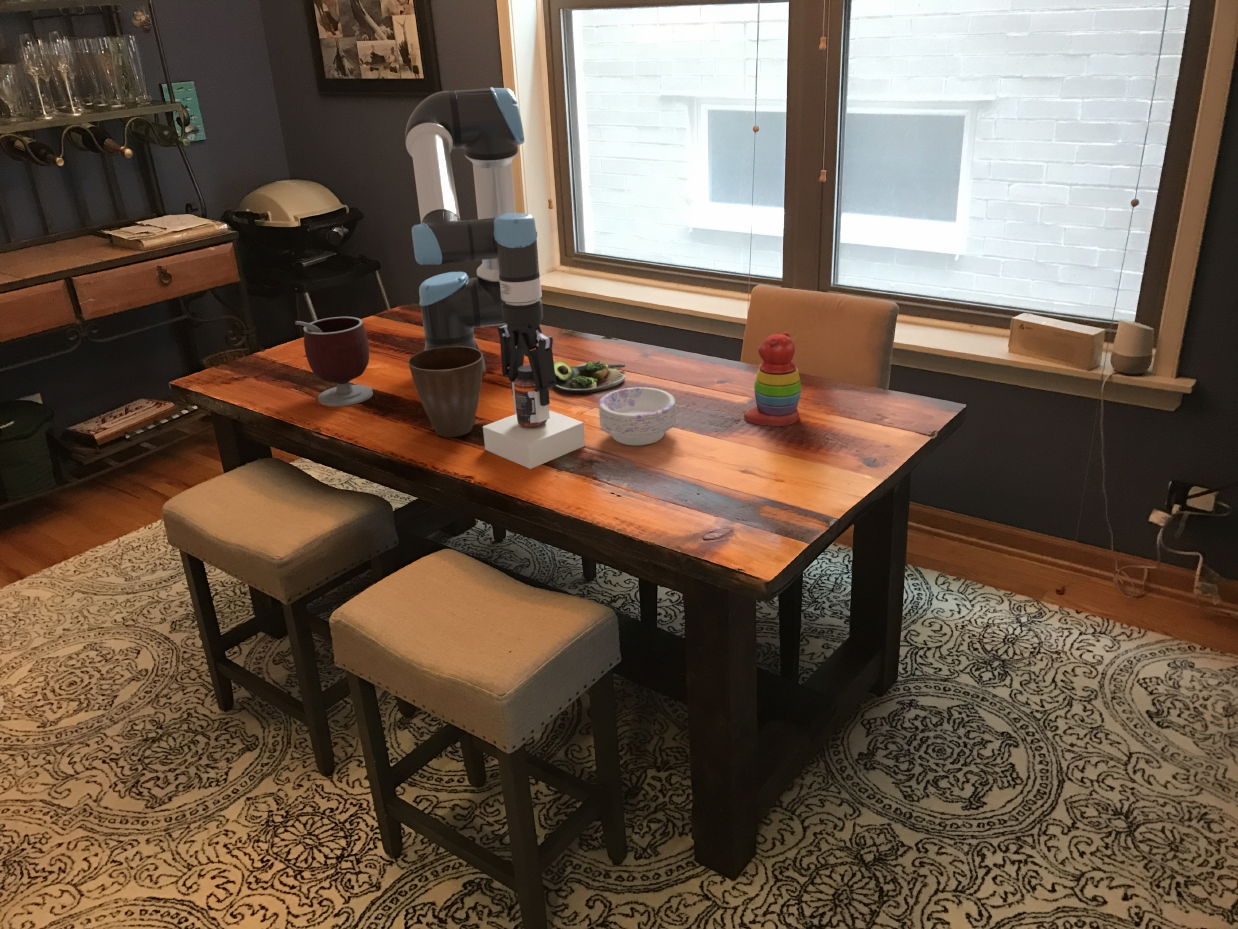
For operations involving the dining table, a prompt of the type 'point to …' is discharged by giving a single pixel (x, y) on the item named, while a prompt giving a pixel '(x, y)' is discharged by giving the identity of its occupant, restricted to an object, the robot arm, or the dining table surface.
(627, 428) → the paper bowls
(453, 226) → the robot arm
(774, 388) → the stacking bear
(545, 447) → the white flat block
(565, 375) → the salad plate
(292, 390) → the dining table surface
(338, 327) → the mate gourd
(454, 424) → the plant pot
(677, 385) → the dining table surface
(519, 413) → the supplement bottle
